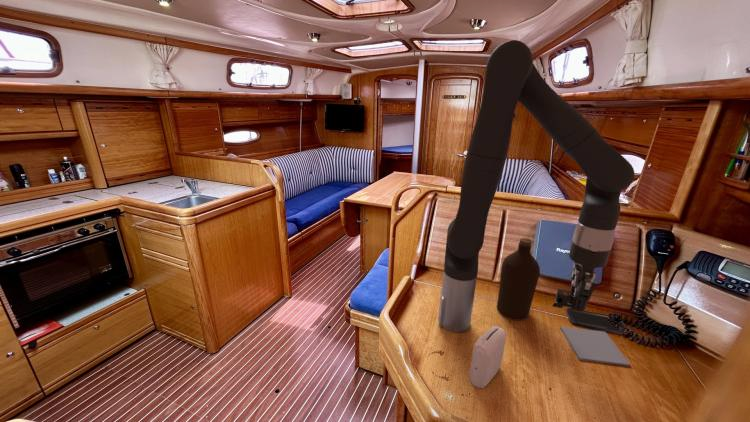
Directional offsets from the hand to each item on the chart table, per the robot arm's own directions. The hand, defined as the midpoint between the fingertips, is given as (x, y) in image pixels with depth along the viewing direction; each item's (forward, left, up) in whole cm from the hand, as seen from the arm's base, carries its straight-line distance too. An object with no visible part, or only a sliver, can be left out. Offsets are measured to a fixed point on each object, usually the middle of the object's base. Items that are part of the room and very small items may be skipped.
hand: (575, 304), depth 75 cm
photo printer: (-22, -11, -16) cm, 29 cm away
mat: (+9, +4, -15) cm, 19 cm away
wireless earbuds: (-2, 0, -1) cm, 2 cm away
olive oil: (-9, +16, -16) cm, 24 cm away
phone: (+15, +15, -16) cm, 27 cm away
